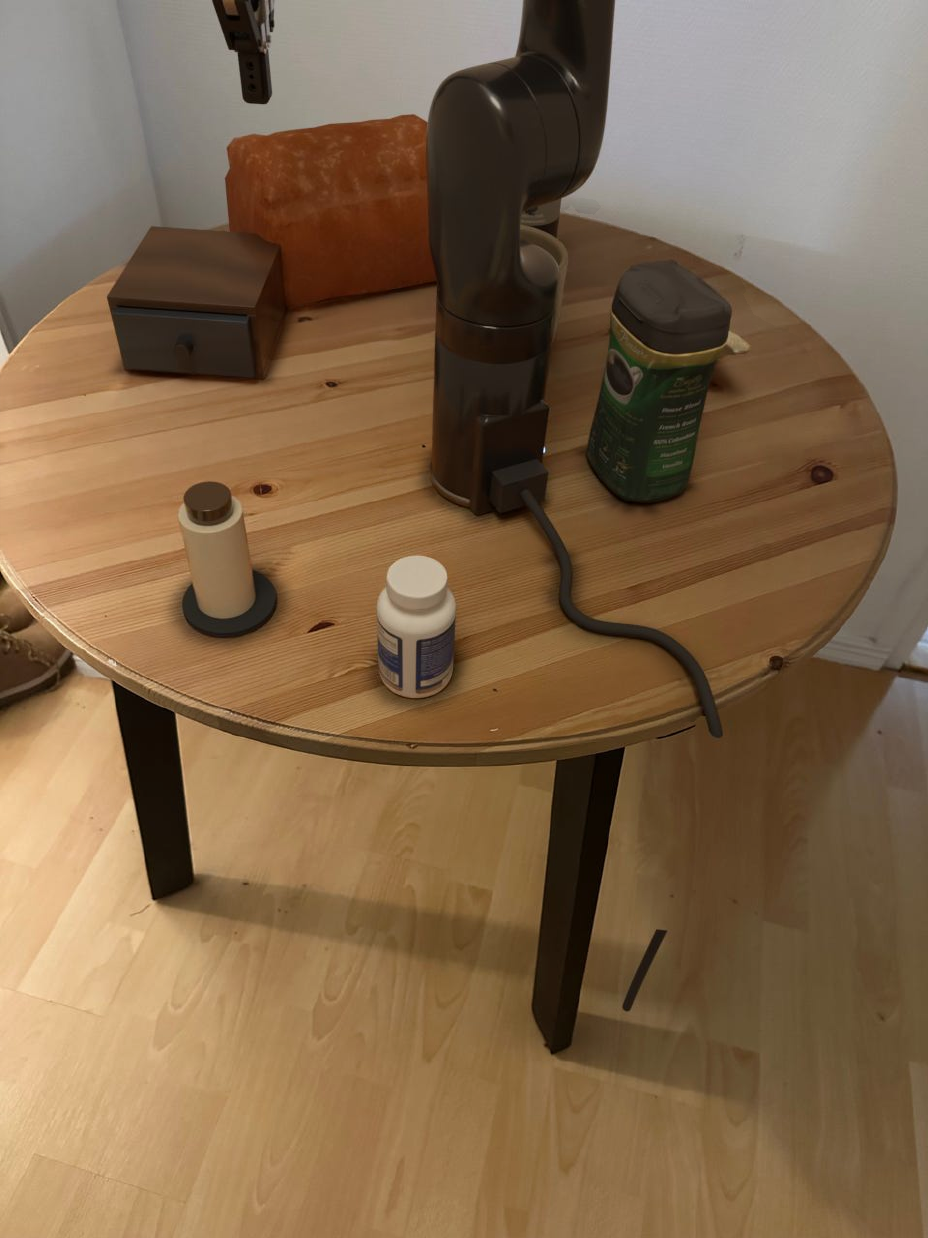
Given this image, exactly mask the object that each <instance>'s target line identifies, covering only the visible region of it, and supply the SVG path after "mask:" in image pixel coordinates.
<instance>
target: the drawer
mask: <svg viewBox="0 0 928 1238" xmlns="http://www.w3.org/2000/svg"><path fill="white" fill-rule="evenodd" d="M112 317H113V320H112V323H113V322H114V325H113V327H114V326H115V329H114V331H115V330H116V333H115V335H116V334H117V337H116V339H117V338H118V341H117V343H118V342H119V345H118V347H119V346H120V349H119V352H120V351H121V354H120V356H121V355H122V358H121V360H122V359H123V361H122V364H123V363H124V366H123V368H124V367H125V369H139V370H153V371H167V372H181V373H195V374H209V375H223V376H237V377H251V378H254V377H255V374H256V363H255V355H254V347H253V339H252V331H251V323H250V317H249V316H247V315H242V314H228V313H214V312H200V311H186V310H171V309H157V308H143V307H130V308H126V307H115V308H114V310H113V311H112V316H111V318H112Z"/></svg>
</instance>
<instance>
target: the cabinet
mask: <svg viewBox="0 0 928 1238" xmlns="http://www.w3.org/2000/svg"><path fill="white" fill-rule="evenodd" d="M145 233H146V234H145V235H144V236H143V238H142V240H141V241H140V242H139V244H138V246H137V248H136V249H135V251H134V252H133V254H132V255H131V257H130V259H129V260H128V261H127V263H126V264H125V266H124V268H123V270H122V271H121V273H120V275H119V276H118V278H117V280H116V281H115V282H114V284H113V286H112V287H111V289H110V290H109V292H108V294H107V295H106V298H107V299H106V300H107V303H108V308H109V312H110V315H111V320H112V324H113V328H114V332H115V336H116V340H117V345H118V349H119V353H120V357H121V361H122V366H123V370H124V371H134V372H135V371H136V372H146V373H147V372H149V373H163V374H176V375H190V376H202V377H203V376H206V377H218V378H233V379H244V380H245V379H247V380H248V379H249V380H261V381H263V380H264V381H265V378H266V374H267V372H268V369H269V366H270V364H271V361H272V358H273V355H274V353H275V350H276V347H277V344H278V341H279V338H280V335H281V333H282V330H283V327H284V324H285V321H286V319H287V316H288V313H289V310H290V308H287V305H286V301H285V294H284V282H283V269H282V257H281V244H276V243H272V242H269V241H266V240H264V239H263V238H261V237H260V236H259V235H258V234H255V233H241V232H230V231H225V230H210V229H200V228H199V229H198V228H186V227H185V228H183V227H170V226H169V227H168V226H158V225H157V226H154V225H151V226H150V227H149V229H148V230H147V232H145ZM115 307H126V308H130V307H143V308H157V309H171V310H186V311H200V312H214V313H228V314H242V315H247V316H249V317H250V323H251V331H252V339H253V347H254V355H255V363H256V374H255V377H254V378H251V377H237V376H223V375H209V374H195V373H181V372H167V371H153V370H139V369H125V367H124V363H123V359H122V355H121V351H120V346H119V342H118V338H117V334H116V330H115V326H114V322H113V317H112V311H113V310H114V308H115Z"/></svg>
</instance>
